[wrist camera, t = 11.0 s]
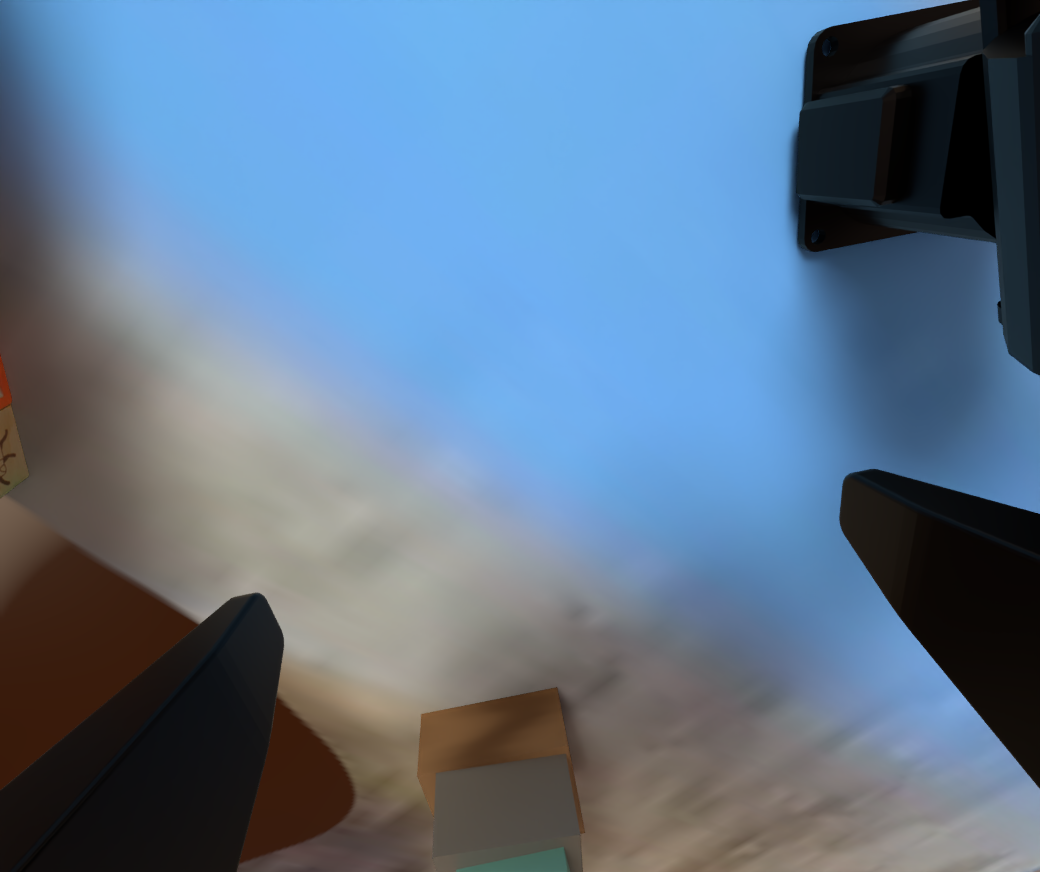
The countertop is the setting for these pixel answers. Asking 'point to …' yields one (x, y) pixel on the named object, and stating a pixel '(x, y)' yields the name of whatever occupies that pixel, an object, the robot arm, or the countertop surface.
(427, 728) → the walnut base block
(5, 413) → the stack of blocks
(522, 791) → the charcoal block
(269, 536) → the countertop surface
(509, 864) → the teal block
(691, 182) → the countertop surface
